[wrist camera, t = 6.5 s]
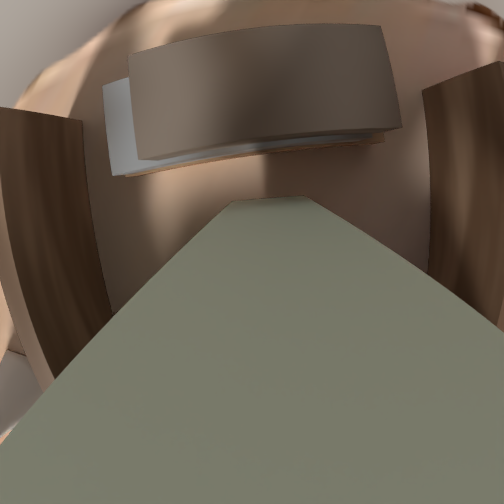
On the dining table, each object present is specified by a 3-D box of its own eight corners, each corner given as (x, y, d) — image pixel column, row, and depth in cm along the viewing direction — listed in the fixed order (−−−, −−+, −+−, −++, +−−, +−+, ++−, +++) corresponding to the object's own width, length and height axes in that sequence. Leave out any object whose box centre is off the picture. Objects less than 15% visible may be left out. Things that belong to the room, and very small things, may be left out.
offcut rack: (439, 92, 16) (609, 49, 2) (427, 372, 21) (508, 498, 8) (64, 126, 17) (-115, 116, 3) (123, 395, 22) (54, 529, 9)
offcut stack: (356, 67, 16) (404, 22, 9) (369, 144, 17) (428, 135, 10) (131, 99, 17) (69, 72, 10) (141, 175, 18) (79, 183, 11)
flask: (1, 337, 22) (-62, 390, 12) (56, 373, 22) (-1, 444, 13) (7, 385, 23) (-41, 438, 14) (58, 418, 24) (15, 483, 14)
